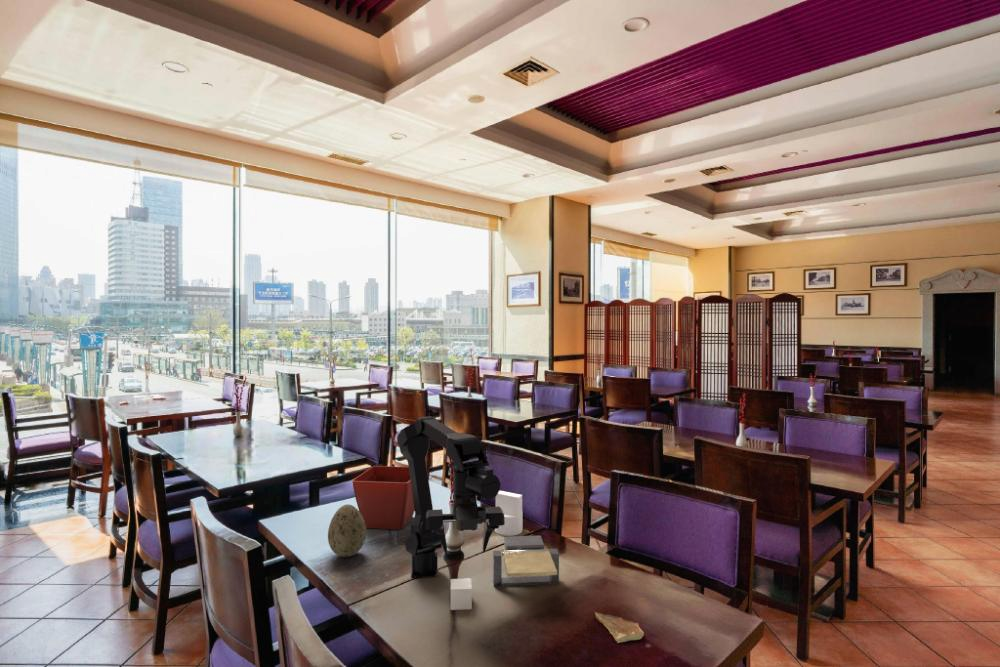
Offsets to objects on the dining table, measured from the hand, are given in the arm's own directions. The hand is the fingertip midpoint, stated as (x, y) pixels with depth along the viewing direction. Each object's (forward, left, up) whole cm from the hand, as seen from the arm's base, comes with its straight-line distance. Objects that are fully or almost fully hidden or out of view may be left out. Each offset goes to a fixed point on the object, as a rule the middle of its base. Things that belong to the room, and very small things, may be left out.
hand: (465, 552), depth 126 cm
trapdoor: (+16, +6, -5) cm, 18 cm away
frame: (+16, +8, -12) cm, 22 cm away
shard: (+33, -15, -13) cm, 38 cm away
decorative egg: (-34, +28, -12) cm, 46 cm away
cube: (-1, -1, -12) cm, 12 cm away
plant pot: (-25, +53, -12) cm, 60 cm away
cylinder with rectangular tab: (+15, +43, -12) cm, 47 cm away
